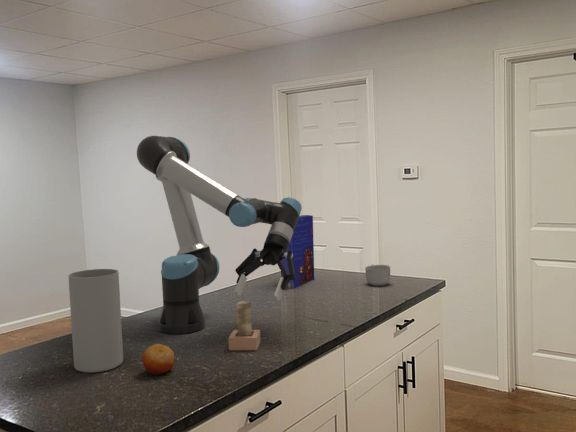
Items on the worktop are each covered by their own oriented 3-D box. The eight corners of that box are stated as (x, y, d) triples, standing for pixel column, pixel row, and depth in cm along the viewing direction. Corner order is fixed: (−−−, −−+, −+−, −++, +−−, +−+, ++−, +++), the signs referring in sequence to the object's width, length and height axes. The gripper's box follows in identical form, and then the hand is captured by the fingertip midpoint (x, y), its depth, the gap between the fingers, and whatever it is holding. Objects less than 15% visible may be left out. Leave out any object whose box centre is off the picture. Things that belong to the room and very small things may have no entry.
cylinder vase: (75, 376, 138) (69, 279, 136) (73, 361, 150) (67, 271, 148) (126, 368, 143) (121, 274, 141) (120, 354, 155) (115, 267, 153)
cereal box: (302, 278, 257) (301, 214, 254) (314, 279, 254) (312, 215, 252) (281, 287, 237) (279, 219, 235) (293, 288, 235) (291, 219, 232)
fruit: (159, 357, 147) (167, 335, 143) (174, 378, 142) (182, 356, 139) (132, 365, 141) (139, 343, 138) (146, 387, 137) (154, 365, 133)
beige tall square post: (238, 344, 158) (236, 303, 157) (243, 341, 161) (241, 301, 160) (247, 345, 157) (245, 304, 156) (252, 342, 160) (250, 301, 159)
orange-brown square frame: (228, 350, 156) (228, 337, 155) (234, 341, 164) (233, 329, 163) (256, 350, 155) (256, 337, 155) (260, 341, 163) (260, 329, 163)
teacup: (392, 286, 233) (392, 268, 232) (367, 287, 233) (366, 269, 232) (387, 280, 247) (386, 262, 246) (363, 281, 247) (362, 263, 246)
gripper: (317, 248, 172) (298, 306, 161) (249, 244, 183) (226, 298, 172) (310, 233, 167) (289, 293, 155) (240, 230, 178) (216, 285, 166)
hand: (256, 296), depth 163 cm, fingers open, 13 cm apart
